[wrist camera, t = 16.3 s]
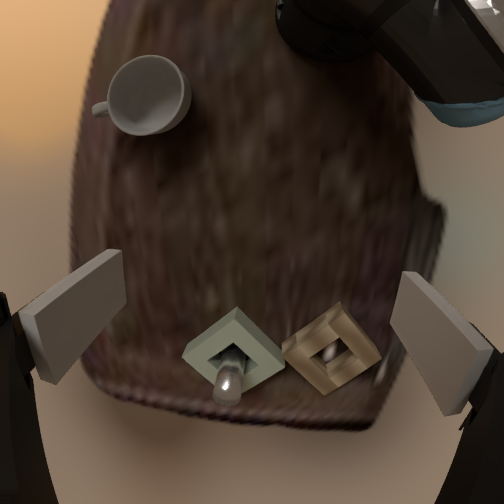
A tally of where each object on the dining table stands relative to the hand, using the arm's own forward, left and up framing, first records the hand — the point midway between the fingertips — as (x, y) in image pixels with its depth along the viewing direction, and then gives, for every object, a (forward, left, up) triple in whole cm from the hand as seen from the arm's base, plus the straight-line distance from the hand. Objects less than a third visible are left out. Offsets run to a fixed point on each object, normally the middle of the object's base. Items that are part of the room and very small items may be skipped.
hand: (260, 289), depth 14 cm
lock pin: (+21, +16, -32) cm, 41 cm away
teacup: (+3, -22, -32) cm, 39 cm away
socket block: (+21, +16, -32) cm, 41 cm away
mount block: (+8, +26, -32) cm, 42 cm away
